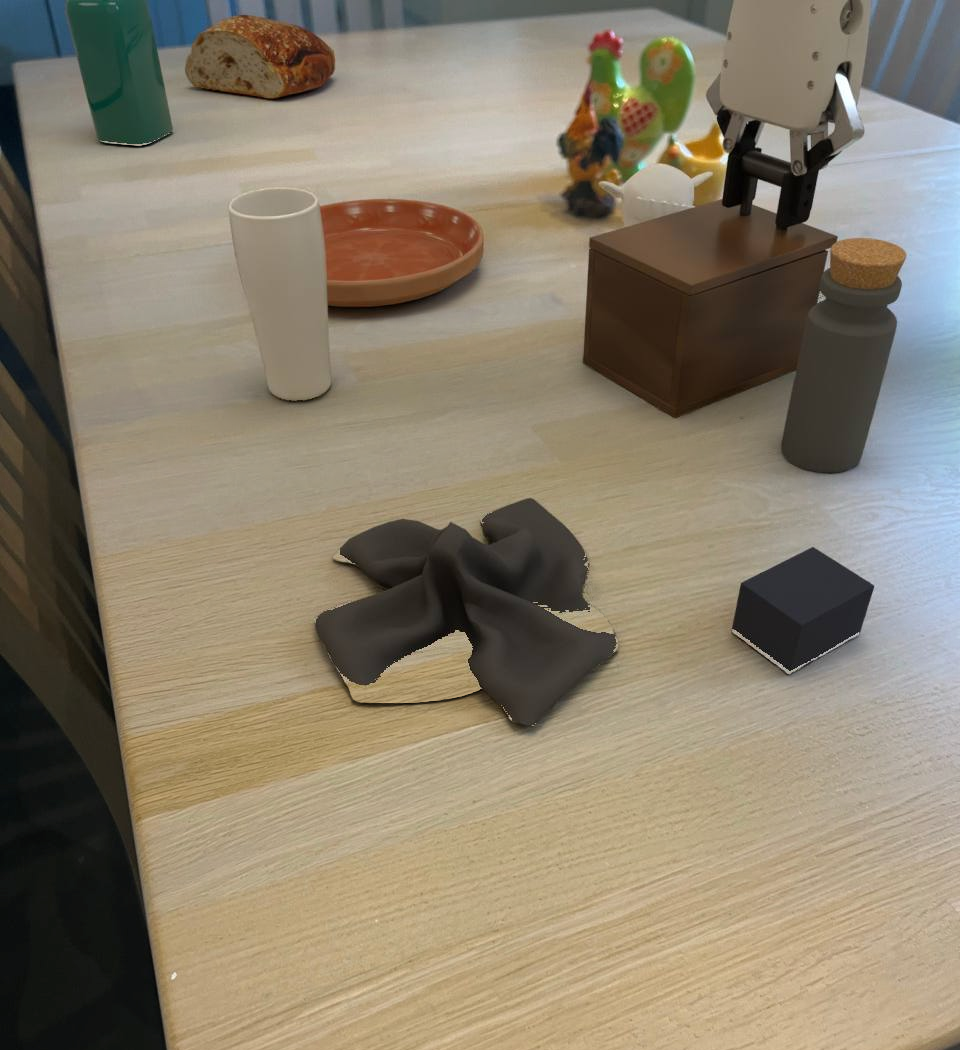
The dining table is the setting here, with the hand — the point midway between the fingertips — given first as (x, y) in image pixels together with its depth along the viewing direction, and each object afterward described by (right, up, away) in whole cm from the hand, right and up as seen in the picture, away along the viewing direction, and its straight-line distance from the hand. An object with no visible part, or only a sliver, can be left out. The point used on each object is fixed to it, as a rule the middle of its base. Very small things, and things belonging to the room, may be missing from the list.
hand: (764, 211), depth 81 cm
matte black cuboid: (-4, -34, -21) cm, 40 cm away
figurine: (-5, +7, +25) cm, 27 cm away
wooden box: (-5, -11, +5) cm, 13 cm away
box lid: (-5, -3, -1) cm, 6 cm away
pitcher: (-70, +35, +59) cm, 98 cm away
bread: (-55, +53, +79) cm, 110 cm away
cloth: (-23, -32, -18) cm, 43 cm away
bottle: (+3, -20, -5) cm, 21 cm away
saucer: (-34, +3, +22) cm, 40 cm away
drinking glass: (-38, -13, +3) cm, 40 cm away
